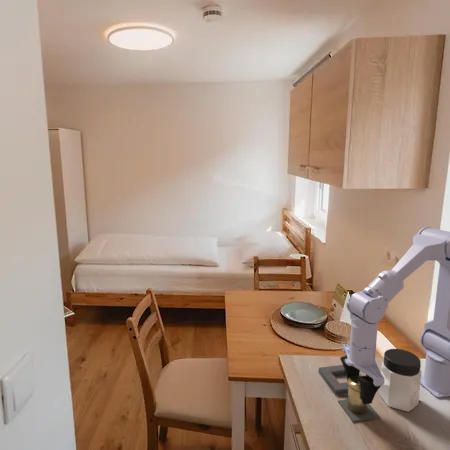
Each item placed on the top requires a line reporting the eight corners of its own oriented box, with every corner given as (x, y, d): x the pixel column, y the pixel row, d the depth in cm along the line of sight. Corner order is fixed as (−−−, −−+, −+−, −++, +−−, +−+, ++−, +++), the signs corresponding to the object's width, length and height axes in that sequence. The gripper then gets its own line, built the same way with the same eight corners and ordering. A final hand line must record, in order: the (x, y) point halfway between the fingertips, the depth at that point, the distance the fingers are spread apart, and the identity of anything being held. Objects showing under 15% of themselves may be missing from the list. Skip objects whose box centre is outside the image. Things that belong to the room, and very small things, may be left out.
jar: (404, 416, 81) (408, 371, 79) (373, 397, 88) (376, 355, 86) (423, 402, 86) (428, 359, 84) (392, 385, 93) (396, 344, 91)
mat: (363, 398, 88) (363, 397, 88) (379, 418, 81) (380, 416, 81) (338, 401, 86) (338, 400, 86) (352, 422, 80) (352, 420, 80)
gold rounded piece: (360, 399, 87) (362, 374, 85) (373, 413, 82) (375, 388, 80) (341, 402, 86) (343, 377, 84) (353, 417, 81) (355, 391, 79)
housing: (350, 368, 100) (350, 363, 100) (370, 390, 91) (370, 385, 90) (318, 372, 99) (318, 367, 98) (335, 395, 89) (335, 390, 89)
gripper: (332, 329, 87) (330, 377, 89) (365, 361, 73) (361, 417, 75) (358, 327, 88) (354, 374, 90) (394, 358, 74) (389, 413, 76)
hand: (359, 393), depth 83 cm, fingers open, 6 cm apart
